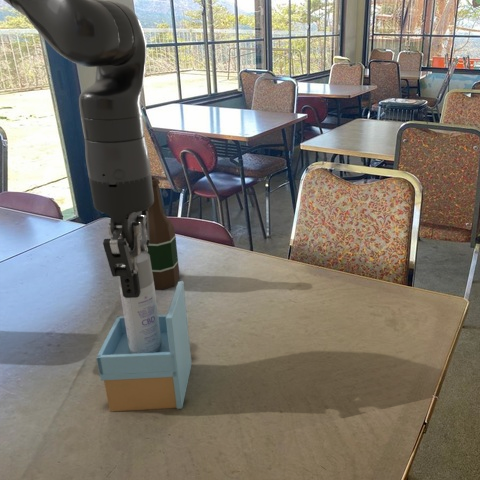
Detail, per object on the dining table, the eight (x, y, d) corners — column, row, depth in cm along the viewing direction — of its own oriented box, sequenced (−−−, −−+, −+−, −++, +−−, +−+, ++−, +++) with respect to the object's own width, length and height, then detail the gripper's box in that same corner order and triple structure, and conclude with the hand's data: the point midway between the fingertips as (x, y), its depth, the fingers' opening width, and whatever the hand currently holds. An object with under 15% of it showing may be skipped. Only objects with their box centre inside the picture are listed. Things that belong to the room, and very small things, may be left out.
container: (149, 358, 70) (136, 267, 64) (122, 352, 72) (107, 261, 66) (167, 340, 74) (157, 253, 68) (141, 334, 76) (129, 248, 70)
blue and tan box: (107, 413, 71) (88, 321, 64) (125, 367, 80) (111, 283, 74) (182, 409, 72) (171, 318, 65) (191, 364, 81) (183, 280, 75)
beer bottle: (179, 272, 112) (168, 172, 102) (181, 288, 105) (170, 182, 96) (143, 276, 110) (129, 174, 100) (143, 292, 103) (128, 185, 93)
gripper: (106, 158, 68) (122, 265, 75) (69, 188, 55) (93, 315, 62) (160, 158, 69) (172, 264, 76) (136, 188, 56) (153, 313, 63)
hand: (136, 286), depth 69 cm, fingers closed on container, 4 cm apart
